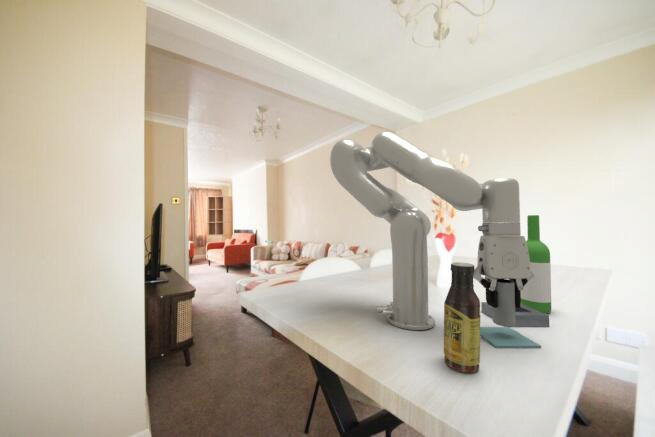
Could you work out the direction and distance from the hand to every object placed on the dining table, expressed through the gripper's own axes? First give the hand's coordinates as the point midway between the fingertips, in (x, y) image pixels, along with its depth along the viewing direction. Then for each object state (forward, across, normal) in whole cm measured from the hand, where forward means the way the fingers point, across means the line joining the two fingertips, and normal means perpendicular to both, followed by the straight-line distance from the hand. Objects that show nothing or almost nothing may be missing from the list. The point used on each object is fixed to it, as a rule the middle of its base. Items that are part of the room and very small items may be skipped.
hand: (503, 305), depth 60 cm
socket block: (+8, +11, +12) cm, 18 cm away
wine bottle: (+8, +23, +19) cm, 31 cm away
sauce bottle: (+8, -16, -12) cm, 22 cm away
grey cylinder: (+5, 0, 0) cm, 5 cm away
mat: (+8, 0, 0) cm, 8 cm away
